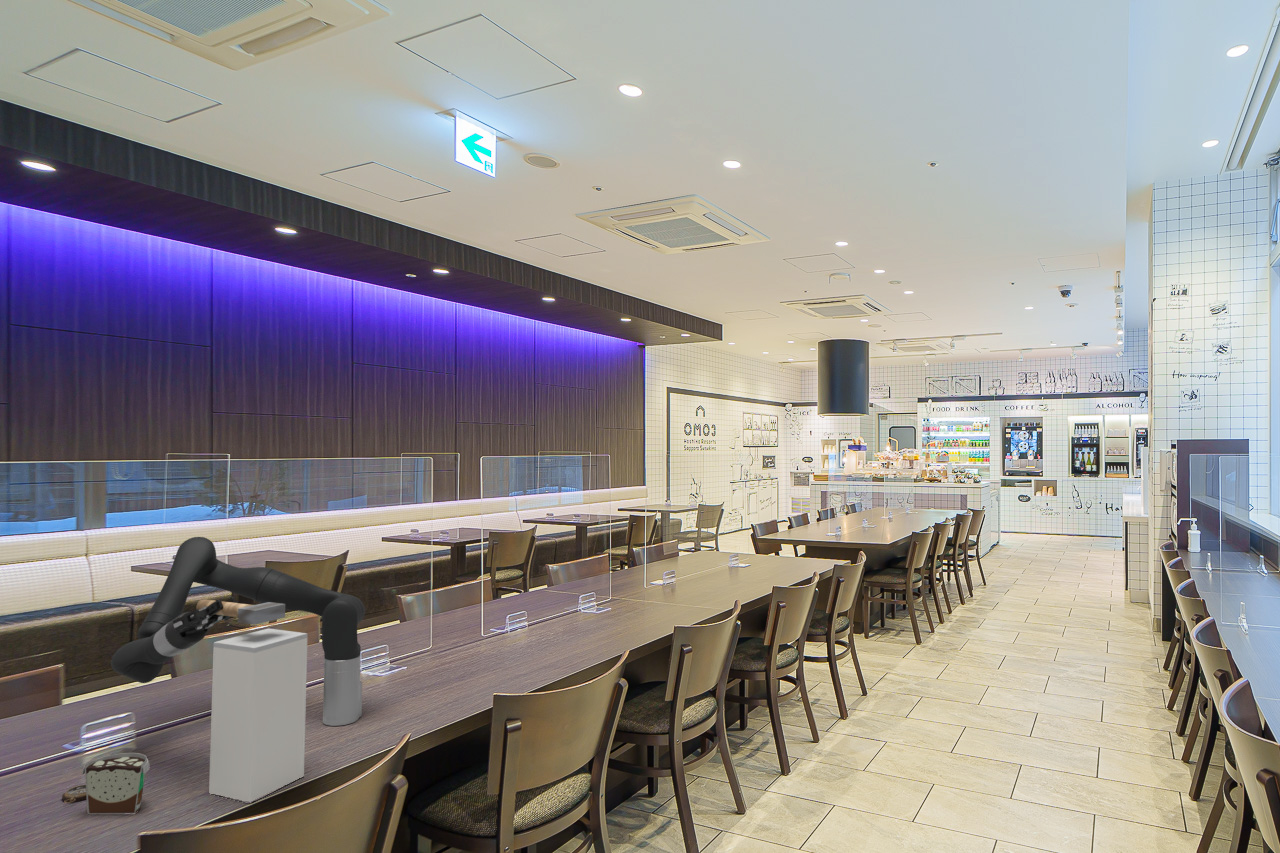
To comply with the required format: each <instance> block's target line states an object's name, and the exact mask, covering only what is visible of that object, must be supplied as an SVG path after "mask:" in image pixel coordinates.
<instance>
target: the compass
mask: <svg viewBox="0 0 1280 853" xmlns="http://www.w3.org/2000/svg"><path fill="white" fill-rule="evenodd" d="M61 797H62V798H61V800H62V801H64V802H63V803H65V804H70V803H75V802H81V801H85V800H87V796H86V784H79V785H76V786H73V787H71V788H68V789H67V791H65V792H64V793H63V794H62V796H61Z"/></svg>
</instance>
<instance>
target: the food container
mask: <svg viewBox="0 0 1280 853" xmlns="http://www.w3.org/2000/svg"><path fill="white" fill-rule="evenodd" d="M149 770H150V762H149V759H148V758H147V755H145V753H144V754H143V753H139V752H124V753H115V754H109V755H106V756H101V757H99V758H95V759H93V760H91V761H88V762H86V763H84V766H83V768H82V771H81V775H84V777H85V778H84V780H85V785H86V796H87V799H86V808H87V810H86V811H87V815H88V814H123V815H126V814H125V813H136V812H137V811H138V810H139V809H140V810H141V806H142V799H143V791H144V784H145V778H146V777H145V776H146V773H147V772H148V771H149ZM140 810H139V811H140ZM136 814H137V813H136Z"/></svg>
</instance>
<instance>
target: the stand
mask: <svg viewBox="0 0 1280 853" xmlns="http://www.w3.org/2000/svg"><path fill="white" fill-rule="evenodd" d="M308 636H309V635H308V633H306V632H299V631H290V630H284V629H277V628H265V629H261V630H257V631H253V632H249V633H245V634H241V635H237V636H232V637H230V638H225V639H221V640H217V641H214V642H213V651H212V653H213V654H212V680H211V681H212V682H211V683H212V687H211V688H212V689H211V712H210V713H211V717H210V748H209V750H210V751H209V753H210V754H209V782H208V783H209V784H208V786H209V788H208V794H209V793H210V794H209V795H211V794H216V795H221V796H225V797H230V798H233V799H239V800H242V801H249V802H251V801H253V800H255V799H257V798H259V797H261V796H263V795H265V794H267V793H269V792H271V791H274V790H276V789H278V788H281V787H283V786H284V785H287V784H289V783H290V782H293V781H295V780H297V779H299V778H301V777H303V776H304V777H305V746H306V744H305V743H306V741H305V740H306V714H307V713H306V710H307V709H306V708H307V707H306V706H307V705H306V704H307V703H306V701H307V675H308V674H307V670H308V668H307V667H308V662H307V661H308Z"/></svg>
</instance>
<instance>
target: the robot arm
mask: <svg viewBox="0 0 1280 853" xmlns="http://www.w3.org/2000/svg"><path fill="white" fill-rule="evenodd" d="M216 550H217V549H216V547H215V545H214V543H213V542H212V540H210V539H209V538H207V537H205V536H193V537H191V538H188V539H186V540H184V541H183V542H182V543H181V544H180V545H179V547H178V549H177V551H176V555H175V557H174V559H173V563H172V566H171V568H170V570H169V573H168V575H167V578H166V579H165V582H164V584H163V586H162V587H161V590H160V592H159V594H158V596H157V597H156V600H155V601H154V603H153V605H152V607H151V608H150V610H149V611H148V614H147V615H146V616H145V618H144V620H143V622H142V624H141V626H140V627H139V629H138V631H137V638H138V639H136V640H133V641H130V642H128V643H126V644H124V645H122V646H121V647H119V648H118V649H117V650H116V652H115V653H114V654H113V655H112V657H111V660H110V665H111V669H112V670H113V671H114V672H116V673H118V674H119V675H122V676H124V677H126V678H128V679H131V680H133V681H135V682H138V683H139V684H140V683H141V684H147V683H150V682H152V681H153V680H155V679H156V678H157V677H158V676H159V675H160V673H161V671H162V669H163V667H164V664H165V663H166V662H168V661H170V660H171V659H173V658H174V657H176V656H177V655H179V654H182V653H183V652H185V651H187V650H188V649H190V648H191V647H193V646H194V645H196V644H197V643H199V642H200V641H201V640H203V639H204V638H205V637H206V635H207V633H208V629H209V628H211V627H213V626H214V625H215V624H216V623H218V622H221V621H226V622H227V621H229V620H230V618H231V617H232V616H224V615H216V613H217V612H219V611H220V610H222V609H223V604H222V602H221V601H222V600H221V599H216V600H215V602H214V603H212V604H211V605H209V606H208V607H203V608H202V609H200V610H199V609H194V610H192V611H185V612H184V609H185V606H186V603H187V600H188V596H189V593H190V591H191V588H192V586H193V583H196V584H200V585H205V586H209V587H213V588H216V589H221V590H224V591H228V592H229V593H232V594H235V595H239V596H240V597H241V596H242V597H245V598H248V599H251V600H253V601H255V602H258V603H259V604H262V603H267V602H273V603H282V604H285V610H288V611H299V612H300V611H301V612H306V613H311V614H314V615H316V616H318V617H319V616H320V617H322V618H321V645H322V650H323V653H324V654H323V655H324V656H323V657H324V658H323V661H324V662H323V663H324V664H323V691H322V692H323V694H322V695H323V696H322V697H323V698H322V699H323V701H322V702H323V703H322V724H324V725H325V726H335V727H337V726H339V727H340V726H344V725H349V724H352V723H355V722H357V721H358V720H359V719H360V717H362V711H363V681H362V680H361V652H362V651H361V650H362V648H361V644H360V643H359V641H358V624H360V623H361V622H362V620H363V619H364V617H365V616H366V615H365V614H366V609H365V608H366V607H365V605H364V603H363V602H362V600H360V598H358V597H356V596H354V595H351V594H348V593H343V592H339V591H334V590H331V589H327V588H323V587H320V586H317V585H315V584H312V583H310V582H308V581H306V580H303V579H300V578H298V577H295V576H292V575H289V574H288V573H285V572H282V571H280V570H276V569H273V568H271V567H266V566H265V567H262V566H256V567H255V566H254V567H238V566H234V565H231V564H228V563H226V562H223V561H221V560H220V559H218V558H217V552H216ZM224 602H232V603H238V602H237V600H236V598H235V596H232V597H230V598H228V599H226V600H225V601H224Z"/></svg>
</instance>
